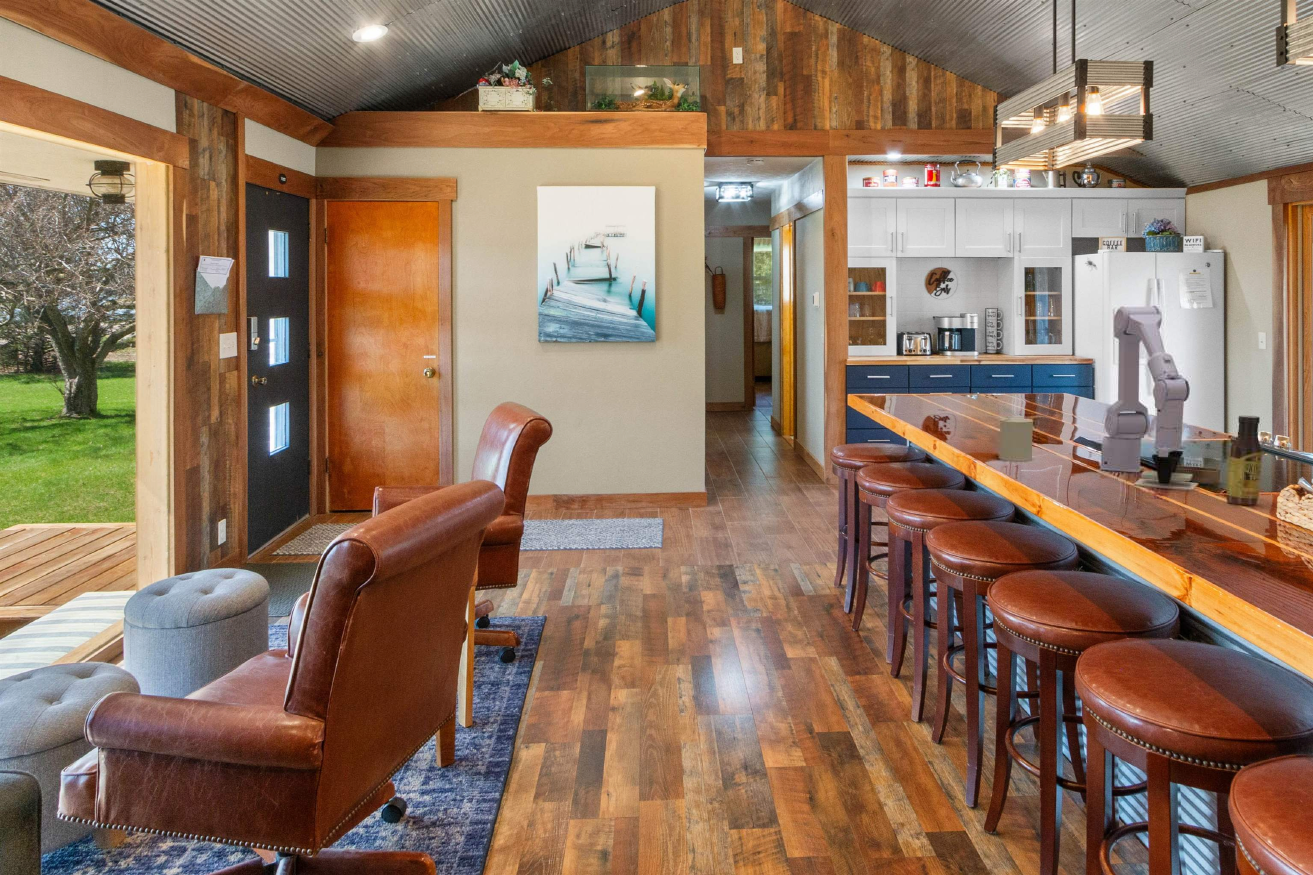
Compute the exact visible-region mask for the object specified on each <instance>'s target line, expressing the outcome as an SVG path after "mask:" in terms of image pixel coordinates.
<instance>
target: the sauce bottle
mask: <svg viewBox="0 0 1313 875" xmlns="http://www.w3.org/2000/svg"><path fill="white" fill-rule="evenodd" d="M1237 418H1238V432H1237V436H1236V437H1235V439H1234V440H1233V441H1232V443H1231V446H1230V454H1229V458H1228V471H1227V480H1226V481H1227V482H1226V503H1228V504H1232V505H1239V506H1254V505H1256V504H1257V503H1258V499H1259V495H1260V485H1261V473H1262V463H1263V462H1262V460H1263V450H1262V447H1261V444H1260V440H1259V437H1258V435H1259V433H1258V431H1259V424H1260V421H1261V420H1260V416H1257V415H1239V416H1238V417H1237Z"/></svg>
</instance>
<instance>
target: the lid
mask: <svg viewBox="0 0 1313 875" xmlns="http://www.w3.org/2000/svg"><path fill="white" fill-rule="evenodd" d="M1192 477H1193V474H1183V473H1172V475H1171V479H1170V481H1178V482H1185V481H1190V480H1191V479H1192ZM1140 478H1142V479H1154V480H1158V475H1157V470H1156V471H1153V470H1144V471H1143V472H1142V473H1141V474H1140Z"/></svg>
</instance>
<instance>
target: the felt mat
mask: <svg viewBox="0 0 1313 875" xmlns="http://www.w3.org/2000/svg"><path fill="white" fill-rule="evenodd" d="M1133 486H1135V487H1136V486H1137V487H1146V488H1147V487H1149V488H1159V489H1170V490H1182V491H1192V492H1193V491H1195V489H1196V488H1197V487H1196V486H1199V484H1198V483H1190V482H1178V481H1170V482H1169V484H1160V483H1159V480H1154V479H1147V478H1143V477H1140V478H1139V479H1138V480H1136V481H1135V483H1133Z"/></svg>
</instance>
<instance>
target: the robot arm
mask: <svg viewBox="0 0 1313 875" xmlns="http://www.w3.org/2000/svg"><path fill="white" fill-rule="evenodd" d="M1162 316H1163V315H1162V311H1161V309H1160V308H1159V306H1157V305H1152V306H1120V307H1118V309H1117V310H1116V312H1115V314H1114V317H1113V337H1114V338H1115V339H1118V366H1117V369H1118V372H1117V376H1118V378H1117V380H1118V381H1117V400H1116V401H1115V402H1114V403H1113V404H1111V405H1109V407H1107V409H1106V416H1105V420H1104V429H1105V433H1107V434H1108V436H1107V435H1106V436H1104V437H1103V438H1102V442H1101V451H1100V452H1101V453H1100V468H1099V470H1103V471H1112V472H1113V471H1114V472H1125V473H1137V474H1138V473H1140V472H1141V471H1142V470H1143V469H1144V466H1141V453H1142V452H1141V450H1142V448H1141V447H1142V439H1144V438H1145V436H1146V435H1147V433H1148V432H1149V431H1150V427H1151V422H1150V421H1151V420H1150V417H1149V408H1148V407H1147V406H1146V405H1144V404H1143V403H1142V402H1140V399H1139V398H1140V343H1141V342H1142V344H1143V346H1144V348H1145V351H1146V352H1147V354H1148V356H1149V359H1148V360H1147V367H1148V369H1149V371H1150V372H1149V373H1150V374H1151V378H1152V380H1153V383H1154V386H1153V389H1152V395H1153V398H1154V407H1155V409H1156V422H1155V424H1156V425H1155V441H1154V445H1153V447H1154V449H1155V450H1157V451H1156V452H1157V454H1155V453H1153V454H1151V458H1152V461H1153V462H1154V465H1155V469H1156V471H1157V475H1158V480H1159V483H1160V484H1169V482H1170V479H1171V475H1172V473H1175V471H1176V467H1177V466H1178V464H1179V462H1180V459H1181V457H1182V455H1183V454H1184V451H1183V450H1186V449H1188V448H1187V447H1188V446H1187V445H1185V444H1184V445H1183V444H1182V441H1183V440H1182V437H1183V423H1184V422H1183V419H1184V408H1185V407H1184V404H1185V402H1186V401H1187V400H1188V399H1189V396H1190V390H1191V389H1190V383H1189V380H1188V379H1187V378H1185V377H1184V376H1183V375H1181V374H1179V371H1178V369H1177V366H1176V364H1175V360H1174V359H1173V356H1172V355H1171V354H1170V353H1166V351H1165V350H1166V349H1165V347H1164V344H1163V343H1164V342H1163V338H1162V335H1161V331H1160V329H1161V325H1162V322H1163V321H1162V320H1163V317H1162Z"/></svg>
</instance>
